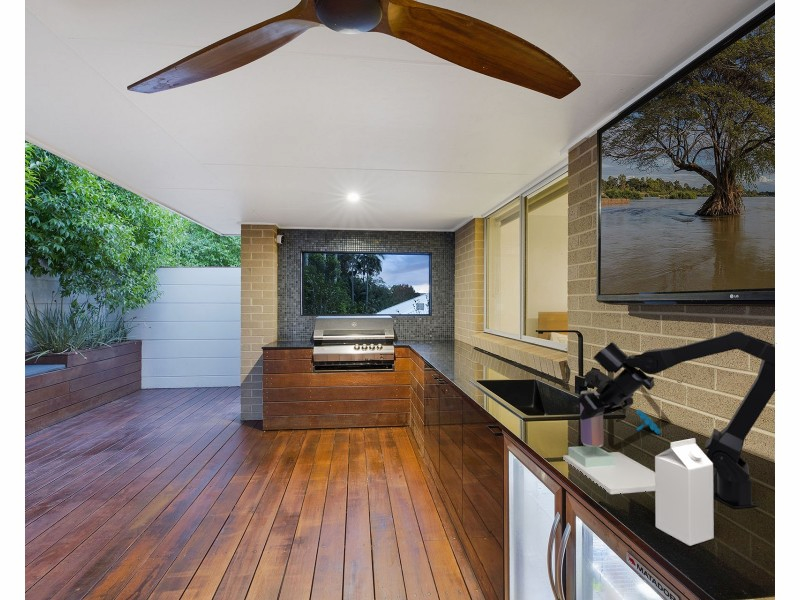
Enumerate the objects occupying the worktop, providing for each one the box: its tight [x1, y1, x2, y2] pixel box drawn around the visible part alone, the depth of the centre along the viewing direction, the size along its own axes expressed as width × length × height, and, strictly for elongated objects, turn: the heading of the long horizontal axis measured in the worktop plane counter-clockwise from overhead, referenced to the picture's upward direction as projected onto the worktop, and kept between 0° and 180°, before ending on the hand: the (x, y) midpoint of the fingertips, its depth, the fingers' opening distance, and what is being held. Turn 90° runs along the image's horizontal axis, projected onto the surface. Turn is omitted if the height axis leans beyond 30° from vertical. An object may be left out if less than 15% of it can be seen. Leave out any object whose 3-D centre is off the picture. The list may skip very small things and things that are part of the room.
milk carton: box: [654, 437, 715, 547], centre depth 84 cm, size 7×7×19 cm
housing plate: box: [562, 445, 655, 495], centre depth 113 cm, size 22×18×4 cm
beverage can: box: [579, 390, 605, 448], centre depth 119 cm, size 6×6×15 cm
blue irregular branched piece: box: [636, 409, 662, 435], centre depth 148 cm, size 11×6×10 cm
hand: (587, 416), depth 120 cm, fingers closed on beverage can, 6 cm apart
